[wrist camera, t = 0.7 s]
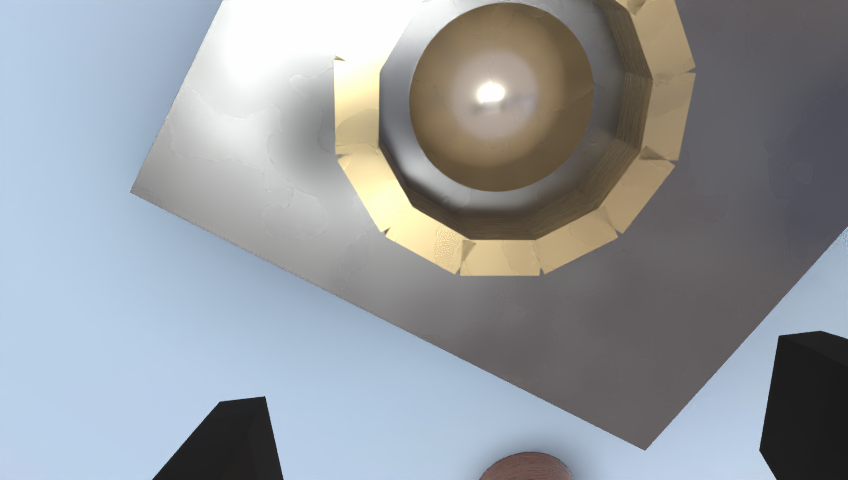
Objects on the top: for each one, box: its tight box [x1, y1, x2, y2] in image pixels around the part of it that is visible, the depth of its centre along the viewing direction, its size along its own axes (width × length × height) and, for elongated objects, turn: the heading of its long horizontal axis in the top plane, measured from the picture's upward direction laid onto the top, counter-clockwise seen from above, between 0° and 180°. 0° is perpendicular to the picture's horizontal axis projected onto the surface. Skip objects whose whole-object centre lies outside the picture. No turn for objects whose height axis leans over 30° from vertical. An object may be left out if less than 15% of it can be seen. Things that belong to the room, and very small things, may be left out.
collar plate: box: [130, 0, 848, 450], centre depth 16 cm, size 18×14×2 cm
